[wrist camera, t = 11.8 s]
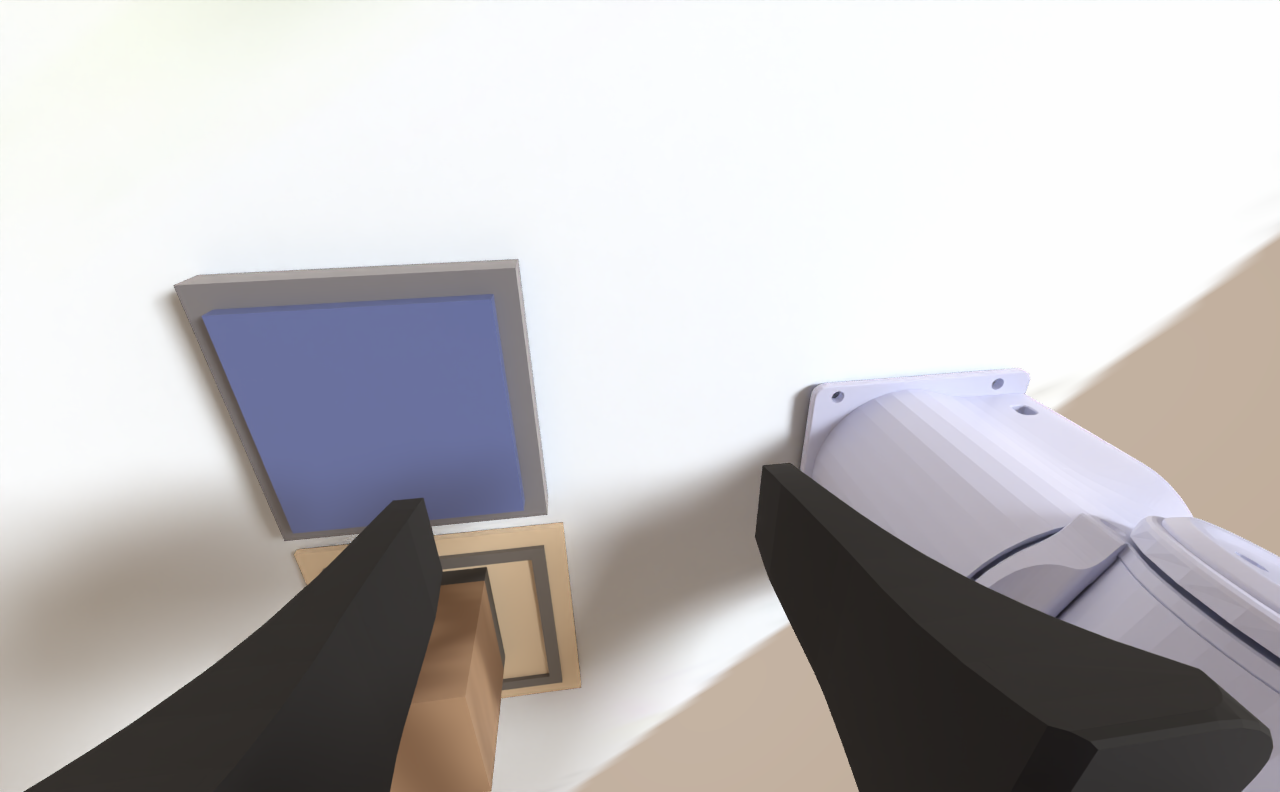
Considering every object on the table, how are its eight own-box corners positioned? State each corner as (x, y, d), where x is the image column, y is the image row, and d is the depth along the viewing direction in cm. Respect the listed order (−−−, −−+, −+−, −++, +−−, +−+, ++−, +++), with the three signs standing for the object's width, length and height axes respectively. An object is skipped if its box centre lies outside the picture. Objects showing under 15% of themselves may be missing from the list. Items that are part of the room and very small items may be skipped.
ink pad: (518, 259, 18) (514, 272, 16) (547, 496, 23) (546, 524, 21) (198, 274, 17) (160, 291, 15) (298, 520, 21) (277, 552, 20)
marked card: (562, 522, 23) (563, 530, 23) (580, 682, 28) (581, 690, 28) (297, 549, 22) (291, 558, 22) (365, 710, 27) (362, 720, 27)
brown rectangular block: (486, 566, 23) (465, 696, 18) (505, 656, 26) (491, 791, 21) (392, 577, 23) (342, 712, 18) (421, 666, 26) (385, 807, 21)
